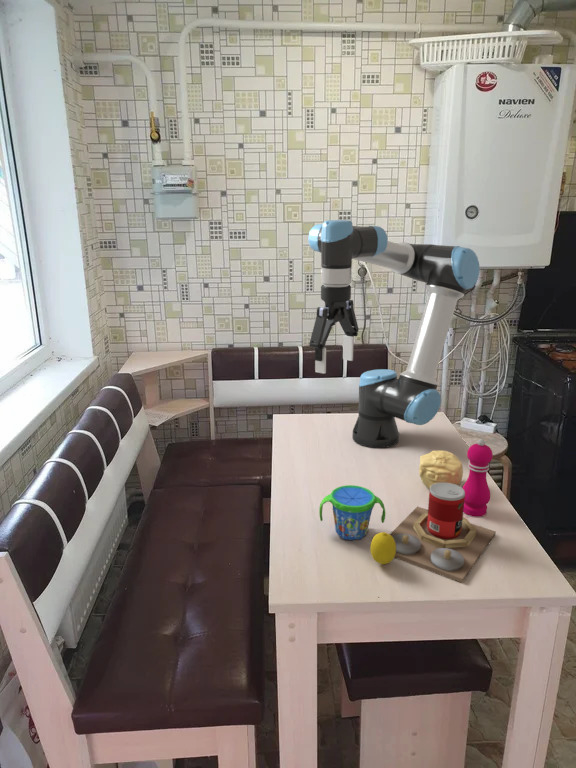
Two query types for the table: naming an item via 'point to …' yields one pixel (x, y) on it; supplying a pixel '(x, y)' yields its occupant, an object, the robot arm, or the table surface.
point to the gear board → (440, 546)
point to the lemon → (383, 548)
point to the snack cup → (352, 510)
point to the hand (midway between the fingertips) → (334, 366)
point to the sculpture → (440, 468)
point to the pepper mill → (477, 480)
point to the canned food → (445, 510)
